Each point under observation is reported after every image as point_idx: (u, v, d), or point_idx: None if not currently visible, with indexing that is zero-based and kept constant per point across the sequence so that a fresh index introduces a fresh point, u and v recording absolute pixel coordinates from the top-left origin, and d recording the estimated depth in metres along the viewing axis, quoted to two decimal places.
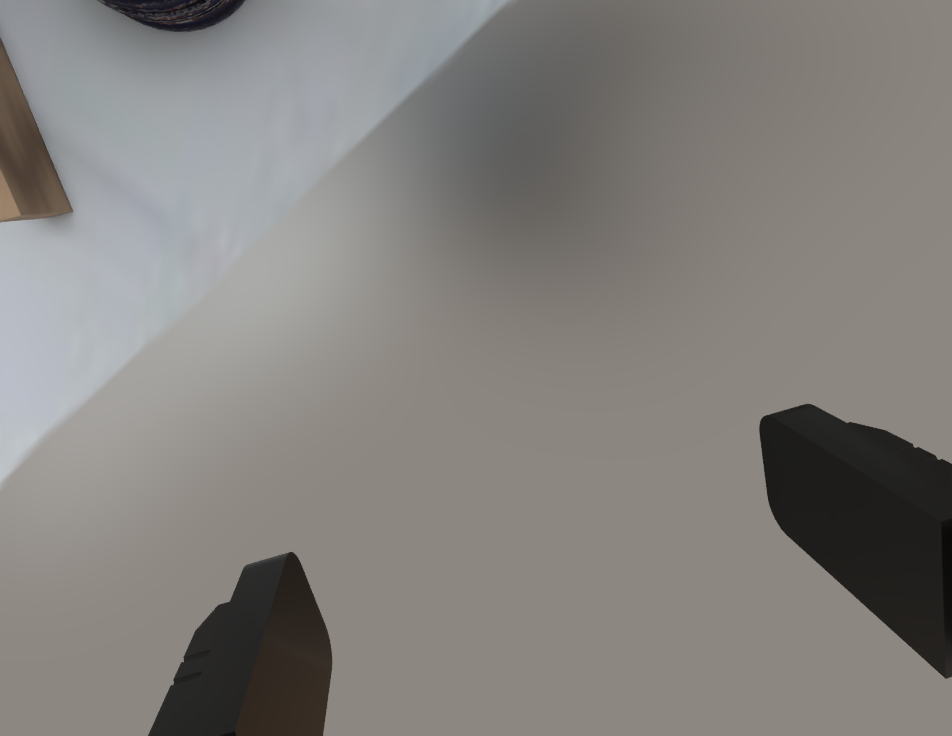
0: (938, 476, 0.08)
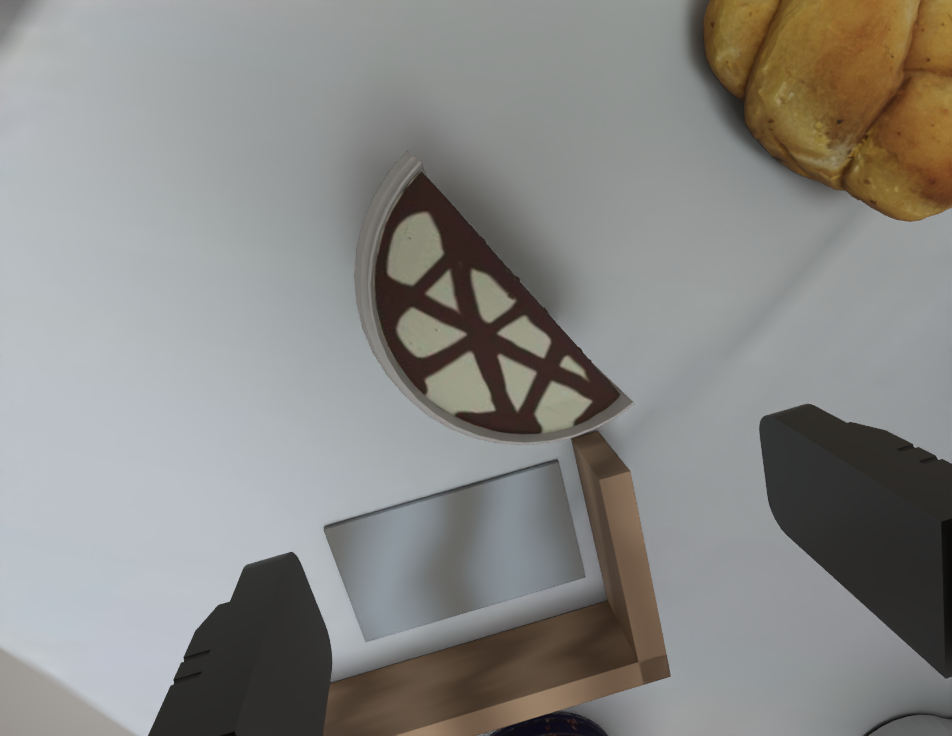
0: (938, 476, 0.08)
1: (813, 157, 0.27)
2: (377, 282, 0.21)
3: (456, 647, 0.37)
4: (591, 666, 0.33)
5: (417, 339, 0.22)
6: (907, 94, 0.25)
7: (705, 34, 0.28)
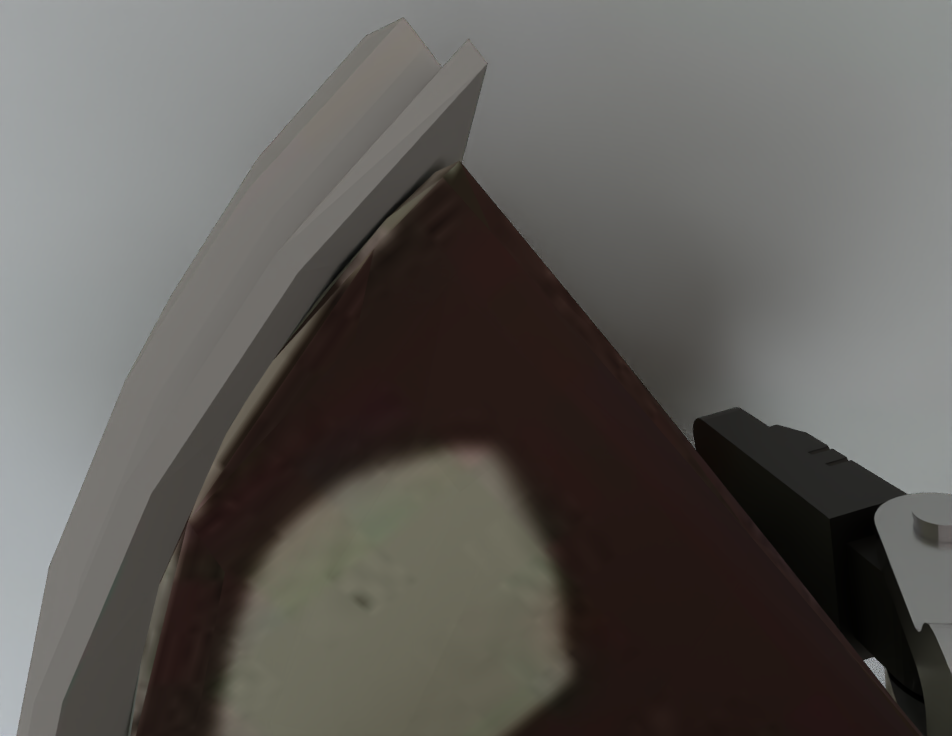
0: (837, 476, 0.08)
1: None
2: None
3: None
4: None
5: None
6: None
7: None
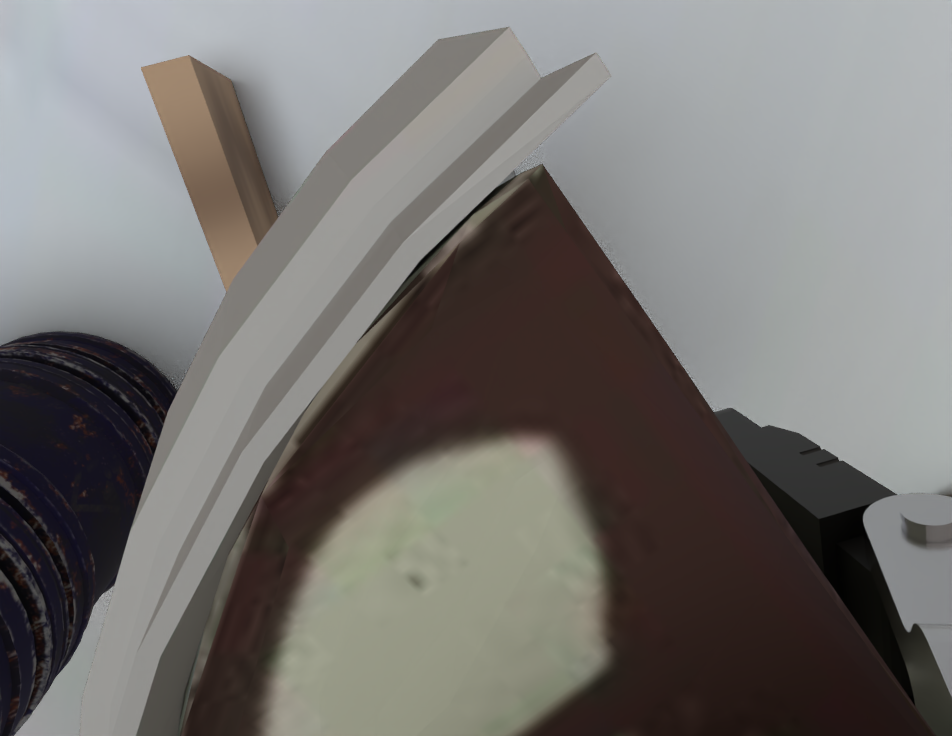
0: (827, 476, 0.08)
1: None
2: None
3: None
4: None
5: None
6: None
7: None
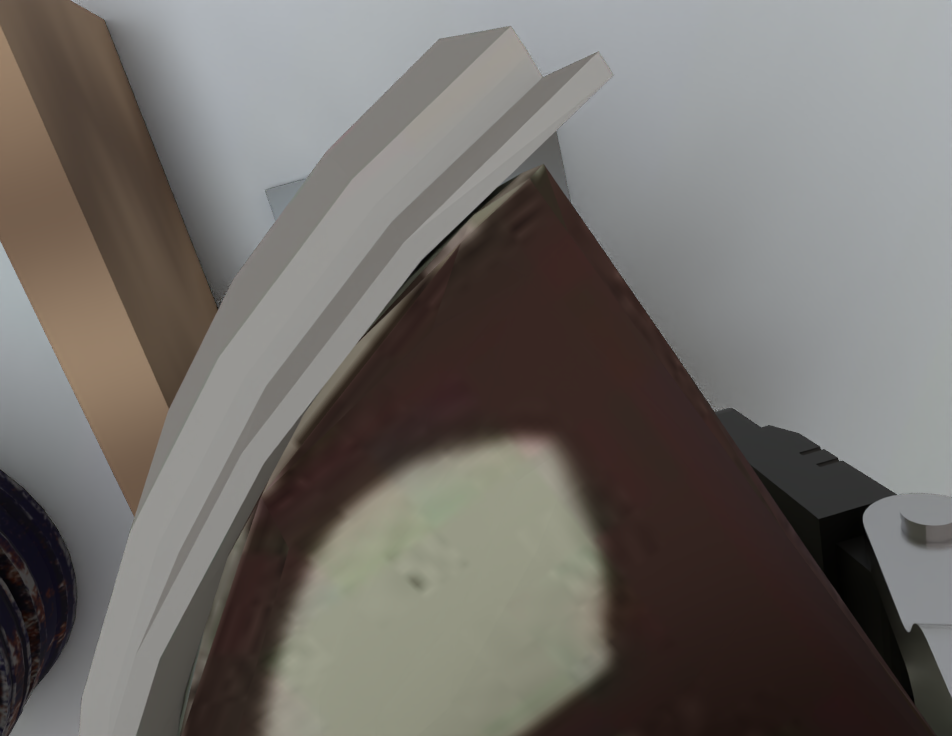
0: (827, 477, 0.08)
1: None
2: None
3: None
4: None
5: None
6: None
7: None
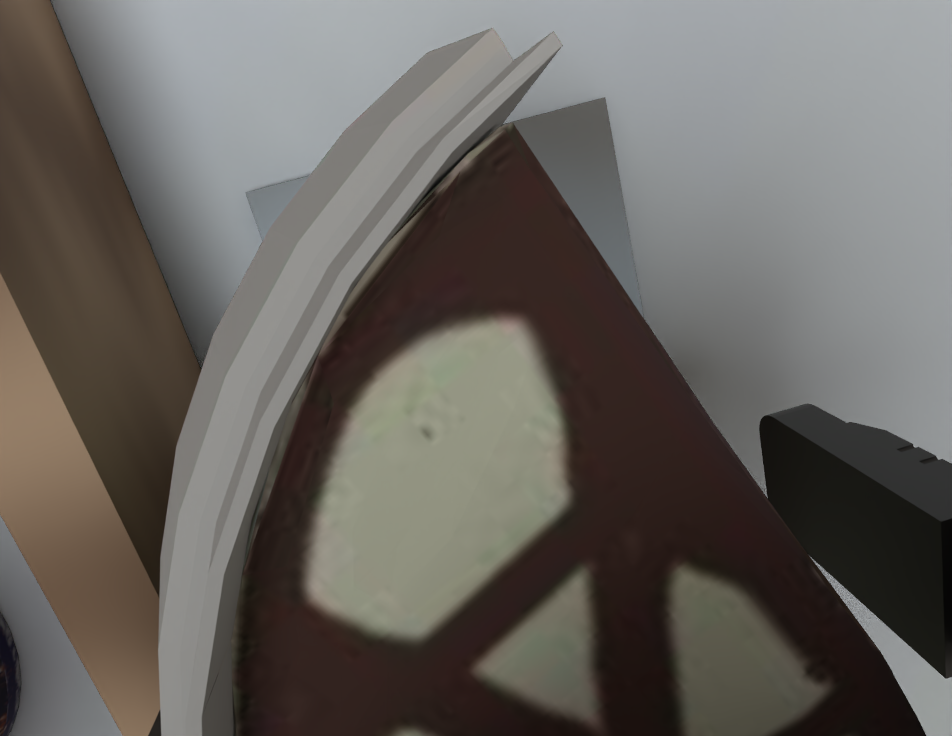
0: (938, 476, 0.08)
1: None
2: (253, 637, 0.04)
3: None
4: None
5: None
6: None
7: None
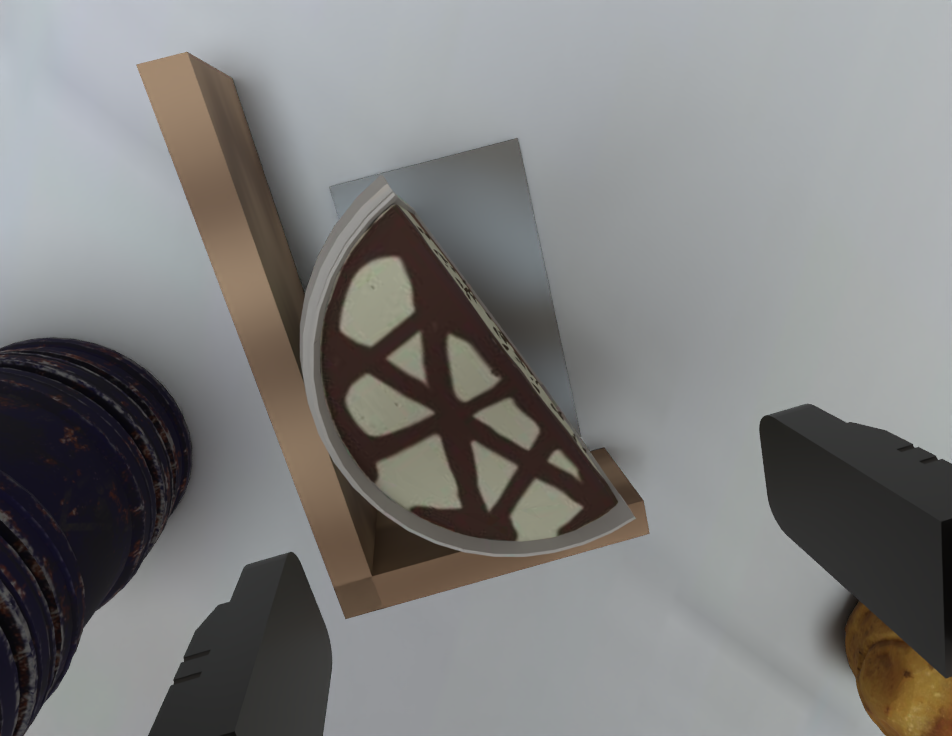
0: (938, 476, 0.08)
1: None
2: (325, 338, 0.17)
3: None
4: (354, 515, 0.24)
5: (370, 414, 0.17)
6: None
7: None
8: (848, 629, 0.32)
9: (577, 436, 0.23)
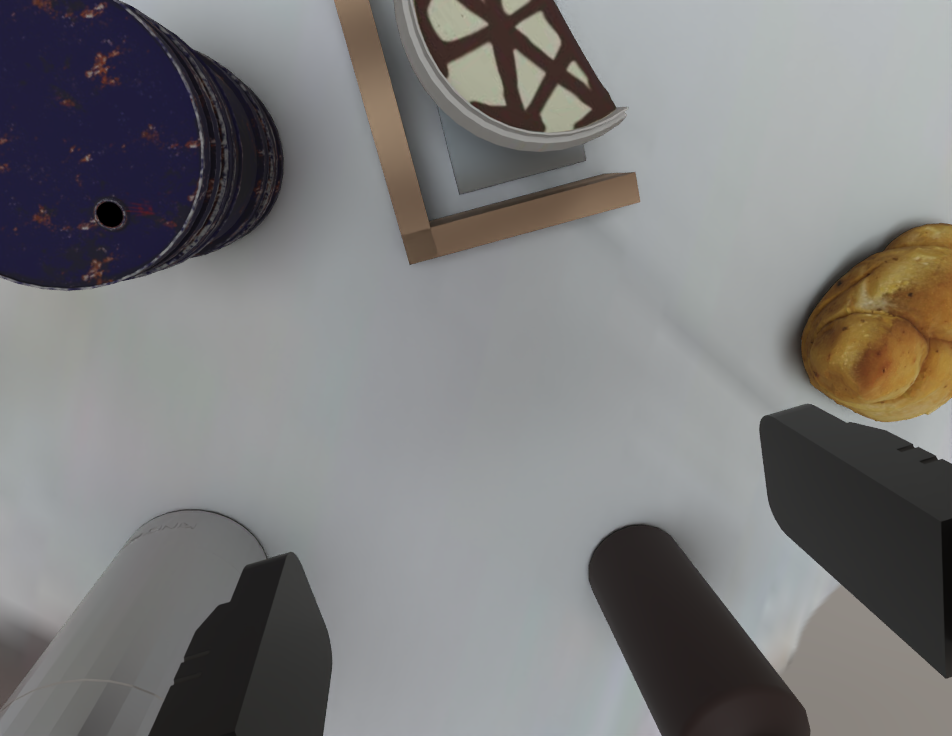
0: (938, 476, 0.08)
1: (866, 291, 0.36)
2: None
3: None
4: None
5: (444, 23, 0.25)
6: (922, 338, 0.35)
7: None
8: (803, 334, 0.40)
9: None
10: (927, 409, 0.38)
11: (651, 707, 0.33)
